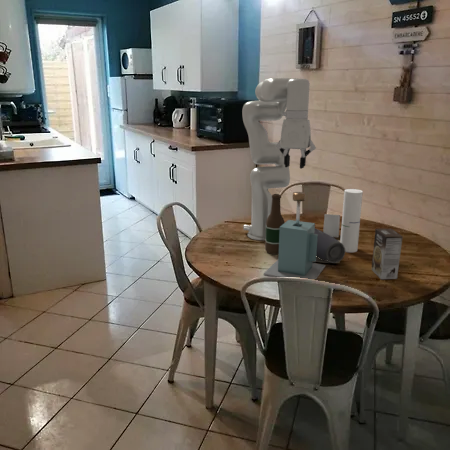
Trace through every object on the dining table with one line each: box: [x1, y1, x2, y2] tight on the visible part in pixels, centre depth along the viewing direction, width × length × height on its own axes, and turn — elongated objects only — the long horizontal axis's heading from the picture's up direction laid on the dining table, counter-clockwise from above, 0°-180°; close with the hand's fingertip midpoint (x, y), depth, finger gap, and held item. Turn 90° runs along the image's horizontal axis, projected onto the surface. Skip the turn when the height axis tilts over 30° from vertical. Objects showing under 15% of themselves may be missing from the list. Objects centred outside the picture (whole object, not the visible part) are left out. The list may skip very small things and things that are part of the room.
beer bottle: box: [264, 193, 286, 255], centre depth 186 cm, size 8×8×24 cm
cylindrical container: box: [339, 188, 364, 253], centre depth 189 cm, size 7×7×25 cm
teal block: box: [263, 219, 326, 280], centre depth 168 cm, size 18×18×18 cm
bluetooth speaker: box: [314, 228, 346, 264], centre depth 183 cm, size 23×9×10 cm, turn 20°
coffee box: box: [371, 228, 403, 280], centre depth 165 cm, size 9×6×16 cm
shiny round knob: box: [292, 191, 306, 227], centre depth 164 cm, size 7×7×16 cm
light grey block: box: [322, 213, 341, 238], centre depth 208 cm, size 4×7×10 cm, turn 79°
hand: (294, 166), depth 166 cm, fingers open, 4 cm apart
